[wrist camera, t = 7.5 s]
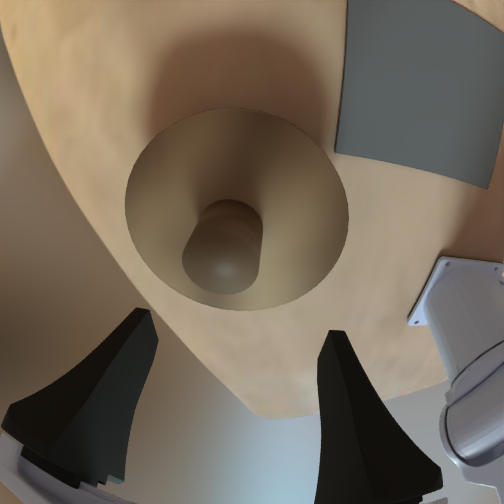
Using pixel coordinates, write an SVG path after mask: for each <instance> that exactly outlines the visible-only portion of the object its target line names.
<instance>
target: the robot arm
mask: <svg viewBox="0 0 504 504" xmlns="http://www.w3.org/2000/svg"><path fill="white" fill-rule="evenodd" d="M447 262H448V263H447ZM503 270H504V265H503V264H502V263H495V262H487V261H479V260H471V259H462V258H454V257H445V256H443V257H440V258H439V259H438V261H437V263H436V266H435V268H434V270H433V272H432V274H431V276H430V278H429V280H428V282H427V284H426V286H425V288H424V290H423V292H422V294H421V296H420V298H419V300H418V302H417V304H416V305H415V307H414V309H413V311H412V313H411V314H410V316H409V318H408V320H407V323H408V325H410V326H416V325H428V326H429V328H430V330H431V333H432V335H433V338H434V341H435V343H436V346H437V349H438V351H439V354H440V357H441V360H442V362H443V365H444V368H445V371H446V374H447V377H448V380H449V383H450V387H451V389H450V390H449V391H448V392H446V393H445V397H446V401H447V404H446V405H445V407H444V408H443V410H442V412H441V415H440V421H439V437H440V441H441V445H442V447H443V450H444V451H445V453H446V454H447V455H448V456H449V458H450V459H451V460H452V461H453V462H455V463H456V465H457V466H458V467H459V469H460V471H461V473H462V476H463V478H464V481H466V482H470V483H474V484H479V485H484V486H490V487H494V488H496V491H497V494H498V498H499V501H500V504H504V278H503V276H502V275H501V274H502V272H503ZM158 341H159V340H158V337H157V334H156V330H155V327H154V324H153V320H152V317H151V313H150V310H147V309H142V308H135V309H134V310H133V311H132V312H131V313H130V314H129V315H128V316H127V317H126V318H125V319H124V320H123V322H122V323H121V324H120V325H119V326H118V327H117V328H116V329H115V330H114V331H113V332H112V333H111V334H110V335H109V336H108V337H107V338H106V339H105V340H104V341H103V342H102V343H101V344H100V345H99V346H98V347H97V348H96V349H94V350H93V351H92V352H91V353H90V354H89V355H88V356H87V357H86V358H85V359H83V360H82V361H81V362H80V363H79V364H78V365H76V366H75V367H74V368H73V369H71V370H70V371H69V372H67V373H66V374H65V375H63V376H62V377H60V378H59V379H58V380H56V381H55V382H53V383H52V384H50V385H48V386H47V387H45V388H43V389H42V390H40V391H38V392H36V393H35V394H32V395H31V396H29V397H26V398H24V399H22V400H20V401H17V402H15V403H13V404H11V405H10V406H9V408H8V410H7V413H6V415H5V417H4V419H3V422H2V424H1V427H2V429H3V430H5V431H6V432H7V433H8V434H9V435H11V436H12V437H13V438H15V439H16V440H17V441H19V442H20V443H22V444H23V445H24V446H23V445H22V444H20V443H18V442H17V441H15V440H14V439H13V438H11V437H10V436H8V435H7V434H6V433H2V435H1V438H0V481H1V482H2V483H3V484H4V485H6V486H7V487H8V488H9V489H10V490H11V491H12V492H13V493H14V494H15V495H16V496H17V497H18V498H19V499H20V500H21V501H22V502H23V503H25V504H137V503H134V502H131V501H129V500H126V499H123V498H121V497H118V496H115V495H113V494H111V493H108V492H106V491H103V490H101V489H99V488H97V484H98V483H100V484H103V485H105V484H106V481H107V480H108V481H111V482H114V483H117V484H120V483H122V482H124V476H125V463H126V454H127V447H128V441H129V435H130V430H131V425H132V421H133V416H134V412H135V409H136V405H137V402H138V400H139V397H140V394H141V392H142V389H143V387H144V384H145V381H146V379H147V376H148V374H149V371H150V368H151V366H152V363H153V360H154V356H155V353H156V349H157V344H158ZM317 385H318V396H319V407H320V418H321V453H320V465H319V475H318V483H317V490H316V496H315V501H314V504H419V502H422V500H423V498H422V495H425V494H428V493H431V492H434V491H437V490H439V489H441V488H442V487H443V479H442V472H441V468H440V467H439V466H438V465H437V464H436V463H434V462H433V461H432V460H431V459H430V458H429V457H428V456H427V455H426V454H424V453H423V452H422V451H421V450H420V449H419V447H417V446H416V445H415V444H414V442H413V441H412V440H411V439H410V438H409V436H408V435H407V434H406V433H405V432H404V431H403V430H402V428H401V427H400V426H399V425H398V423H397V422H396V421H395V419H394V418H393V417H392V415H391V414H390V413H389V411H388V410H387V408H386V407H385V405H384V404H383V402H382V401H381V399H380V397H379V396H378V394H377V392H376V391H375V389H374V387H373V386H372V384H371V382H370V380H369V379H368V377H367V375H366V373H365V371H364V369H363V368H362V366H361V364H360V362H359V360H358V358H357V356H356V354H355V352H354V350H353V347H352V345H351V343H350V341H349V339H348V337H347V335H346V333H345V331H340V330H329V332H328V335H327V337H326V340H325V342H324V345H323V347H322V349H321V352H320V354H319V357H318V362H317ZM427 504H448V499H447V498H446V497H445V498H442V499H439V500H436V501H433V502H430V503H427Z"/></svg>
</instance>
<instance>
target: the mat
mask: <svg viewBox="0 0 504 504" xmlns="http://www.w3.org/2000/svg"><path fill="white" fill-rule="evenodd" d="M503 122H504V34H503V33H501V32H500V31H499V30H497V29H496V28H494V27H493V26H492V25H490V24H489V23H487V22H486V21H484V20H482V19H481V18H479V17H478V16H476V15H475V14H473V13H471V12H470V11H468V10H466V9H464V8H463V7H461V6H459V5H457V4H455V3H454V2H452V1H450V0H347V30H346V48H345V62H344V74H343V85H342V95H341V104H340V113H339V122H338V129H337V137H336V144H335V151H334V152H335V153H339V154H345V155H352V156H357V157H363V158H369V159H374V160H379V161H384V162H389V163H394V164H399V165H403V166H408V167H412V168H416V169H420V170H424V171H428V172H432V173H436V174H440V175H443V176H447V177H450V178H454V179H457V180H461V181H464V182H467V183H470V184H473V185H476V186H479V187H482V188H485V189H488V186H489V183H490V180H491V176H492V173H493V169H494V165H495V161H496V157H497V153H498V148H499V144H500V139H501V134H502V128H503Z"/></svg>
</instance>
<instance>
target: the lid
mask: <svg viewBox="0 0 504 504" xmlns="http://www.w3.org/2000/svg"><path fill="white" fill-rule="evenodd" d="M125 214H126V220H127V225H128V230H129V233H130V235H131V238H132V241H133V243H134V245H135V247H136V249H137V251H138V253H139V254H140V256H141V257H142V259H143V261H144V262H145V263H146V264H147V266H148V267H149V268H150V269H151V271H152V272H153V273H154V274H155V275H156V276H157V277H158V278H159V279H161V280H162V281H163V282H164V283H165V284H167V285H168V286H169V287H171V288H172V289H174V290H175V291H177V292H178V293H180V294H182V295H184V296H186V297H187V298H189V299H192V300H194V301H196V302H199V303H201V304H205V305H208V306H211V307H215V308H220V309H225V310H235V311H253V310H263V309H268V308H273V307H277V306H280V305H283V304H286V303H288V302H291V301H293V300H295V299H297V298H299V297H301V296H303V295H304V294H306V293H308V292H309V291H310V290H312V289H313V288H314V287H316V286H317V285H318V284H319V283H320V282H321V281H322V280H323V279H324V278H325V277H326V276H327V275H328V273H329V272H330V271H331V270H332V268H333V267H334V265H335V264H336V262H337V260H338V259H339V257H340V255H341V252H342V250H343V247H344V245H345V241H346V237H347V233H348V222H349V213H348V202H347V198H346V193H345V189H344V187H343V184H342V182H341V179H340V177H339V175H338V173H337V171H336V169H335V168H334V166H333V164H332V162H331V161H330V159H329V158H328V156H327V155H326V154H325V152H324V151H323V150H322V149H321V148H320V146H319V145H318V144H317V143H316V142H315V141H314V140H313V139H312V138H310V137H309V136H308V135H307V134H306V133H305V132H303V131H302V130H300V129H299V128H297V127H296V126H294V125H293V124H291V123H289V122H287V121H285V120H283V119H281V118H279V117H277V116H274V115H271V114H267V113H264V112H261V111H256V110H250V109H244V108H223V109H215V110H209V111H205V112H201V113H198V114H194V115H192V116H190V117H187V118H185V119H183V120H181V121H179V122H176V123H174V124H173V125H171V126H170V127H168V128H167V129H165V130H164V131H162V132H161V133H160V134H158V135H157V136H156V137H155V138H154V139H153V140H152V141H151V142H150V143H149V144H148V145H147V146H146V148H145V149H144V150H143V151H142V153H141V154H140V156H139V157H138V159H137V161H136V163H135V164H134V166H133V169H132V171H131V174H130V176H129V179H128V184H127V188H126V196H125Z"/></svg>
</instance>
